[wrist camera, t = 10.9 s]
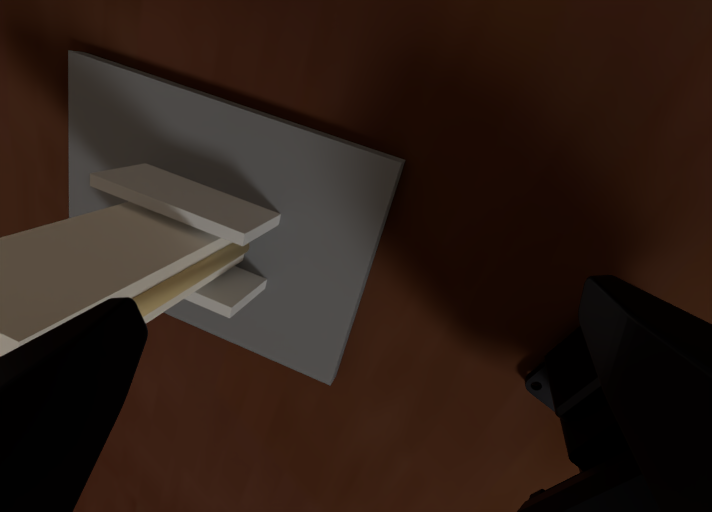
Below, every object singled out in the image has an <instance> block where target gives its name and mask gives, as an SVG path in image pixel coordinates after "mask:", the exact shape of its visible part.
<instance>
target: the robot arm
mask: <svg viewBox="0 0 712 512" xmlns="http://www.w3.org/2000/svg"><path fill="white" fill-rule="evenodd" d="M578 318H579V323H580V327H578V328H577V329H576V330H575V331H574V332H573V333H571V334H570V335H569V336H568V337H567V338H565V339H564V340H563V341H562V342H561V343H559V344H558V345H557V346H556V347H555V348H554V349H552V350H551V351H550V352H549V353H548V354H546V355H545V357H544V362H542V363H541V364H540V365H539V366H538V367H536V368H535V369H534V370H533V371H532V372H530V373H529V374H528V375H527V376H526V378H525V386H526V389H527V390H528V391H529V392H530V393H531V394H532V395H534V396H535V397H536V398H537V399H539V400H540V401H541V402H543V403H544V404H545V405H546V406H548V407H549V408H550V409H552V410H553V411H554V412H555V414H556V415H557V416H558V417H559V418H560V421H561V425H562V430H563V434H564V439H565V443H566V448H567V452H568V457H569V459H570V461H571V462H572V463H574V464H575V465H576V466H578V467H579V470H580V473H579V474H577V475H575V476H573V477H571V478H569V479H567V480H565V481H563V482H561V483H559V484H557V485H555V486H553V487H551V488H549V489H547V490H544V489H541V490H539V491H537V492H535V493H533V494H531V495H530V498H529V500H527V501H525V502H524V504H523V505H522V506H521V507H520V509H519V510H518V511H517V512H712V324H710V323H708V322H706V321H704V320H702V319H700V318H698V317H696V316H694V315H692V314H690V313H688V312H686V311H684V310H682V309H680V308H678V307H676V306H674V305H672V304H670V303H668V302H666V301H663V300H661V299H659V298H657V297H655V296H653V295H651V294H649V293H647V292H645V291H643V290H641V289H639V288H637V287H635V286H633V285H631V284H629V283H627V282H625V281H623V280H621V279H619V278H617V277H615V276H612V275H599V276H590V277H588V278H587V279H586V281H585V284H584V288H583V293H582V297H581V302H580V306H579V311H578ZM147 336H148V330H147V326H146V323H145V321H144V319H143V317H142V315H141V313H140V310H139V308H138V306H137V304H136V302H135V301H134V300H133V299H132V298H129V297H119V298H110V299H108V300H106V301H104V302H102V303H100V304H98V305H96V306H95V307H93V308H91V309H89V310H87V311H85V312H83V313H81V314H80V315H78V316H76V317H74V318H72V319H70V320H68V321H66V322H65V323H63V324H61V325H59V326H57V327H55V328H53V329H51V330H50V331H48V332H46V333H44V334H42V335H40V336H38V337H36V338H35V339H33V340H31V341H29V342H27V343H25V344H23V345H21V346H20V347H18V348H16V349H14V350H12V351H10V352H8V353H6V354H5V355H3V356H1V357H0V512H73V510H74V508H75V506H76V504H77V501H78V499H79V497H80V495H81V493H82V491H83V489H84V487H85V485H86V483H87V480H88V478H89V476H90V474H91V472H92V470H93V468H94V466H95V464H96V461H97V459H98V457H99V455H100V453H101V451H102V449H103V447H104V445H105V443H106V440H107V438H108V436H109V434H110V432H111V430H112V428H113V426H114V424H115V422H116V419H117V417H118V415H119V413H120V411H121V409H122V406H123V404H124V401H125V399H126V396H127V394H128V391H129V388H130V385H131V383H132V380H133V377H134V374H135V371H136V369H137V366H138V363H139V360H140V357H141V355H142V352H143V349H144V346H145V343H146V341H147ZM533 382H539V383H540V385H537V386H536V385H532V383H533Z"/></svg>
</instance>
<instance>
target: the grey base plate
mask: <svg viewBox="0 0 712 512" xmlns="http://www.w3.org/2000/svg"><path fill="white" fill-rule="evenodd" d="M68 106H69V218H73V217H76V216H80V215H83V214H87V213H90V212H94V211H97V210H101V209H105V208H108V207H112V206H115V205H119V204H122V203H126V202H132V203H134V204H137V205H139V206H142V207H144V208H147V209H149V210H152V211H155V212H157V213H160V214H162V215H165V216H167V217H170V218H172V219H175V220H177V221H180V222H182V223H185V224H187V225H190V226H192V227H195V228H197V229H200V230H202V231H205V232H208V233H210V234H213V235H215V236H218V237H220V238H223V239H225V240H228V241H230V242H233V243H235V244H238V245H240V246H244V245H246V244H247V243H249V250H248V251H247V252H246V253H244V258H243V261H241V262H240V263H238V264H237V265H235V266H233V267H232V268H230V269H229V270H227V271H226V272H224V273H223V274H221V275H220V276H218V277H217V278H215V279H213V280H212V281H210V282H209V283H207V284H206V285H204V286H203V287H201V288H200V289H198V290H197V291H195V292H194V293H192V294H190V295H189V296H187V297H186V298H184V299H183V300H181V301H180V302H178V303H177V304H175V305H174V306H172V307H170V308H169V309H167V310H166V311H164V313H166V314H168V315H171V316H173V317H175V318H177V319H180V320H182V321H184V322H187V323H189V324H191V325H193V326H196V327H198V328H200V329H203V330H205V331H207V332H209V333H212V334H214V335H216V336H219V337H221V338H223V339H225V340H228V341H230V342H232V343H234V344H237V345H239V346H241V347H244V348H246V349H248V350H250V351H253V352H255V353H257V354H260V355H262V356H264V357H266V358H269V359H271V360H273V361H276V362H278V363H280V364H282V365H285V366H287V367H289V368H292V369H294V370H296V371H298V372H301V373H303V374H305V375H307V376H310V377H312V378H314V379H317V380H319V381H321V382H323V383H326V384H328V385H331V383H332V382H333V380H334V378H335V376H336V374H337V371H338V368H339V365H340V362H341V358H342V355H343V352H344V349H345V346H346V343H347V340H348V337H349V334H350V331H351V327H352V324H353V321H354V318H355V315H356V312H357V309H358V306H359V303H360V300H361V296H362V293H363V290H364V287H365V284H366V281H367V278H368V275H369V272H370V269H371V265H372V262H373V259H374V256H375V253H376V250H377V247H378V244H379V241H380V238H381V235H382V231H383V228H384V225H385V222H386V219H387V216H388V213H389V210H390V207H391V204H392V200H393V197H394V194H395V191H396V188H397V185H398V182H399V179H400V176H401V173H402V169H403V166H404V163H405V160H404V159H401V158H398V157H395V156H392V155H389V154H386V153H383V152H380V151H377V150H374V149H371V148H368V147H365V146H362V145H359V144H356V143H353V142H350V141H347V140H344V139H341V138H339V137H336V136H333V135H330V134H327V133H324V132H321V131H318V130H315V129H312V128H309V127H306V126H303V125H300V124H297V123H294V122H291V121H288V120H285V119H282V118H279V117H276V116H273V115H270V114H267V113H264V112H261V111H258V110H255V109H252V108H249V107H246V106H243V105H240V104H237V103H234V102H231V101H229V100H226V99H223V98H220V97H217V96H214V95H211V94H208V93H205V92H202V91H199V90H196V89H193V88H190V87H187V86H184V85H181V84H178V83H175V82H172V81H169V80H166V79H163V78H160V77H157V76H154V75H151V74H148V73H145V72H142V71H139V70H136V69H133V68H130V67H127V66H124V65H121V64H119V63H116V62H113V61H110V60H107V59H104V58H101V57H98V56H95V55H92V54H89V53H86V52H79V51H70V50H68Z"/></svg>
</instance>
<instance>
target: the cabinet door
mask: <svg viewBox="0 0 712 512" xmlns="http://www.w3.org/2000/svg"><path fill="white" fill-rule="evenodd" d="M248 250H249V243H247V244H246V245H244V246H240V245H238V244H235V243H233V242H230V241H228V240H225V239H223V238H220V237H218V236H215V235H213V234H210V233H208V232H205V231H202V230H200V229H197V228H195V227H192V226H190V225H187V224H185V223H182V222H180V221H177V220H175V219H172V218H170V217H167V216H165V215H162V214H160V213H157V212H155V211H152V210H149V209H147V208H144V207H142V206H139V205H137V204H134V203H132V202H126V203H122V204H119V205H115V206H112V207H108V208H105V209H101V210H97V211H94V212H90V213H87V214H83V215H80V216H76V217H73V218H69V219H65V220H62V221H58V222H55V223H51V224H48V225H44V226H41V227H37V228H34V229H30V230H26V231H23V232H19V233H16V234H12V235H9V236H5V237H2V238H0V357H1V356H3V355H5V354H6V353H8V352H10V351H12V350H14V349H16V348H18V347H20V346H21V345H23V344H25V343H27V342H29V341H31V340H33V339H35V338H36V337H38V336H40V335H42V334H44V333H46V332H48V331H50V330H51V329H53V328H55V327H57V326H59V325H61V324H63V323H65V322H66V321H68V320H70V319H72V318H74V317H76V316H78V315H80V314H81V313H83V312H85V311H87V310H89V309H91V308H93V307H95V306H96V305H98V304H100V303H102V302H104V301H106V300H108V299H110V298H119V297H129V298H132V299H133V300H134V301H135V302H136V304H137V306H138V308H139V310H140V313H141V315H142V317H143V319H144V321H145V323H147V322H149V321H151V320H152V319H154V318H155V317H157V316H158V315H160V314H161V313H163V312H164V311H166V310H167V309H169V308H170V307H172V306H174V305H175V304H177V303H178V302H180V301H181V300H183V299H184V298H186V297H187V296H189V295H190V294H192V293H194V292H195V291H197V290H198V289H200V288H201V287H203V286H204V285H206V284H207V283H209V282H210V281H212V280H213V279H215V278H217V277H218V276H220V275H221V274H223V273H224V272H226V271H227V270H229V269H230V268H232V267H233V266H235V265H237V264H238V263H240V262H241V261H243V258H244V253H246V252H247V251H248Z"/></svg>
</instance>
